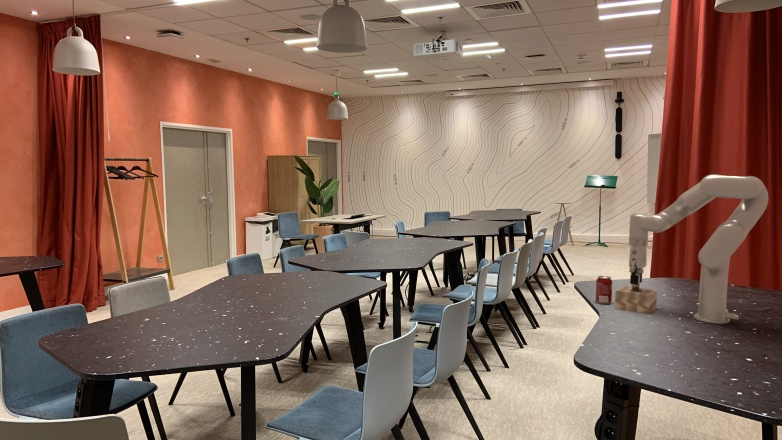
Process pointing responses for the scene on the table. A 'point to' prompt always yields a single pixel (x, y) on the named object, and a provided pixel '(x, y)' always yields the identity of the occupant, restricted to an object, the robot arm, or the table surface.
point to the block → (636, 299)
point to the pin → (636, 287)
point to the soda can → (604, 290)
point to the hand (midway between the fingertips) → (635, 282)
